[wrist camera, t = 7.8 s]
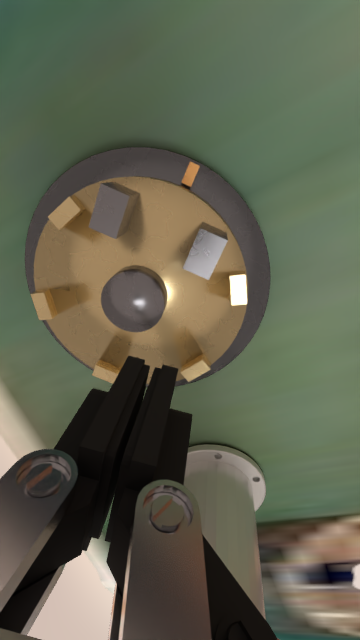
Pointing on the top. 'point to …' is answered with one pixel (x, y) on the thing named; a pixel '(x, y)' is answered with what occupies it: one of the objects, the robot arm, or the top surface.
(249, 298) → the housing
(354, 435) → the top surface
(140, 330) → the round gold dish
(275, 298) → the top surface
